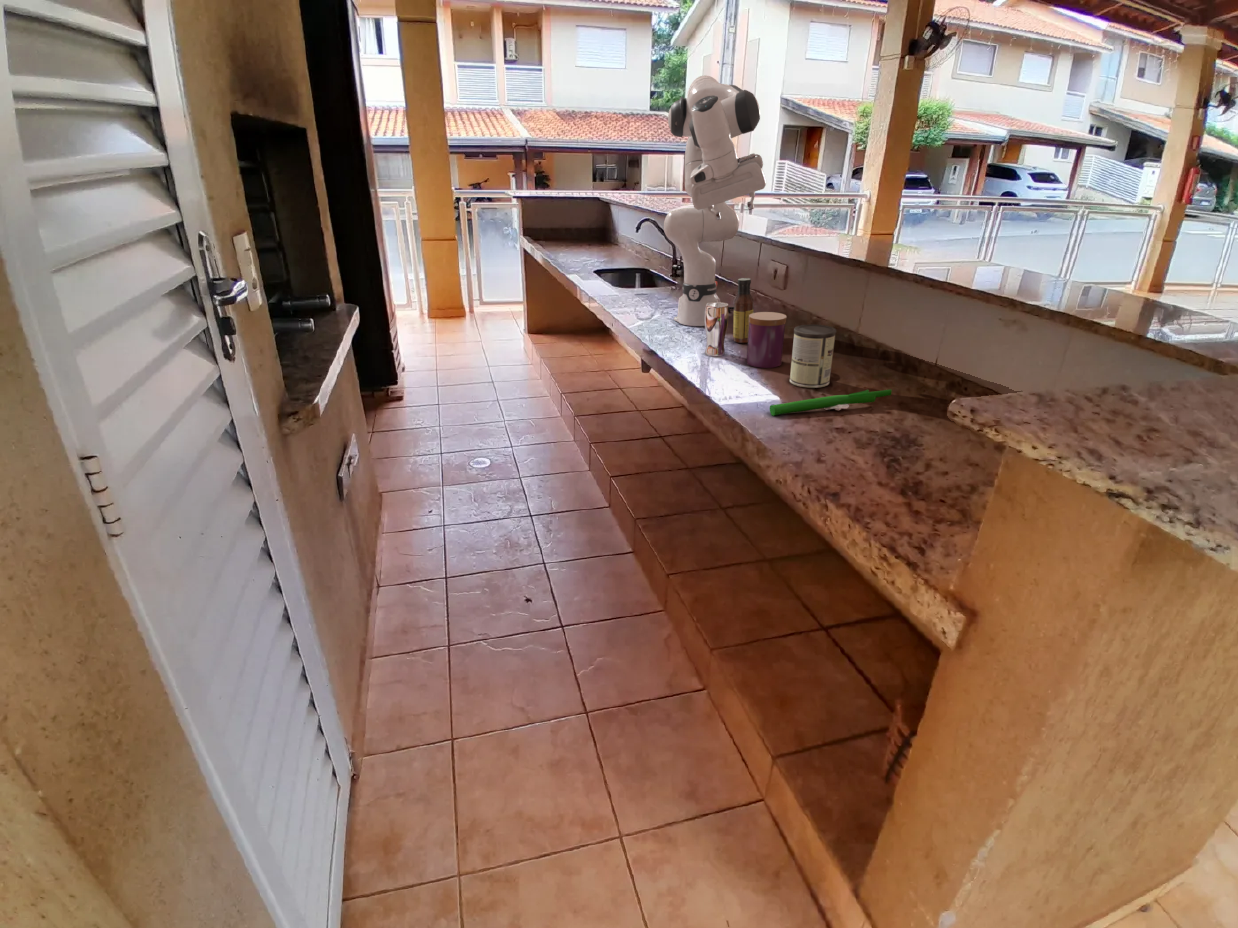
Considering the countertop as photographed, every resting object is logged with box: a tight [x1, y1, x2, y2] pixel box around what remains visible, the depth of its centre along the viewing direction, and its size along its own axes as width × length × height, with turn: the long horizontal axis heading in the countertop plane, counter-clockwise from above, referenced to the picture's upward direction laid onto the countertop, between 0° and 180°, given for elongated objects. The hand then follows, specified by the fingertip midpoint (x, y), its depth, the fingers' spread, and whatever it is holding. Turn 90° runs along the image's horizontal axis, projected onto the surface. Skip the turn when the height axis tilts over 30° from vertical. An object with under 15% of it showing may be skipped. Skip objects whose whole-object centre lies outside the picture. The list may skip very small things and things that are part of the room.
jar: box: [745, 311, 787, 369], centre depth 176 cm, size 10×10×14 cm
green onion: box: [769, 388, 892, 417], centre depth 144 cm, size 5×3×30 cm
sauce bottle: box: [732, 277, 754, 344], centre depth 196 cm, size 7×6×20 cm
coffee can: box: [789, 323, 837, 389], centre depth 159 cm, size 10×10×14 cm
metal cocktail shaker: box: [704, 301, 729, 358], centre depth 185 cm, size 7×7×15 cm
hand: (734, 214), depth 173 cm, fingers open, 8 cm apart
